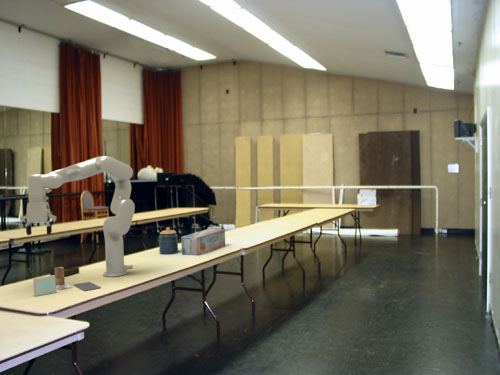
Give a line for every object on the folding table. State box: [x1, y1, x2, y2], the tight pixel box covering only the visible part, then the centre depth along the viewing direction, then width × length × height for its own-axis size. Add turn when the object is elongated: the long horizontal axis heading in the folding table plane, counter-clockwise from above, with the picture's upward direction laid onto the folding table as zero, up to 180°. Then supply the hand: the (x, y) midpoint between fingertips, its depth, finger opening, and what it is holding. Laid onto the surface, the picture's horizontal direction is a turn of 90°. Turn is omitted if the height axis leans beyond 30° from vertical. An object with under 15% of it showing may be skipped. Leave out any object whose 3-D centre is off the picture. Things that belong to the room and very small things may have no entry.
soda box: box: [180, 228, 226, 256], centre depth 311 cm, size 41×14×13 cm, turn 157°
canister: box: [158, 227, 179, 255], centre depth 305 cm, size 13×13×18 cm
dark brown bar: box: [49, 266, 80, 277], centre depth 240 cm, size 19×4×5 cm, turn 154°
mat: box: [73, 281, 102, 292], centre depth 216 cm, size 8×16×1 cm, turn 39°
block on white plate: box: [54, 266, 73, 291], centre depth 217 cm, size 6×12×9 cm, turn 39°
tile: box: [33, 275, 57, 297], centre depth 204 cm, size 9×2×8 cm, turn 129°
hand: (39, 234), depth 215 cm, fingers open, 9 cm apart
